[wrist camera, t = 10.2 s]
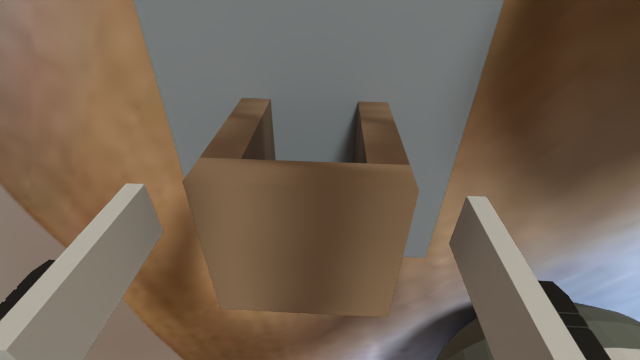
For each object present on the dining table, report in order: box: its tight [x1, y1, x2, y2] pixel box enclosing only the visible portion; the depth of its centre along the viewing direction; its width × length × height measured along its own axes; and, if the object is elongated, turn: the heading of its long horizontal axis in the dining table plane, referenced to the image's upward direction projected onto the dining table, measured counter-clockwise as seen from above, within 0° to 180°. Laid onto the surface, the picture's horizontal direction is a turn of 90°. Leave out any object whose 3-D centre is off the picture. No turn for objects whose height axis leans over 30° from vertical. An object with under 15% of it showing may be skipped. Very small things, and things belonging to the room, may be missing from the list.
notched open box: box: [182, 98, 419, 318], centre depth 15 cm, size 8×7×8 cm
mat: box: [133, 0, 504, 258], centre depth 18 cm, size 16×16×1 cm
